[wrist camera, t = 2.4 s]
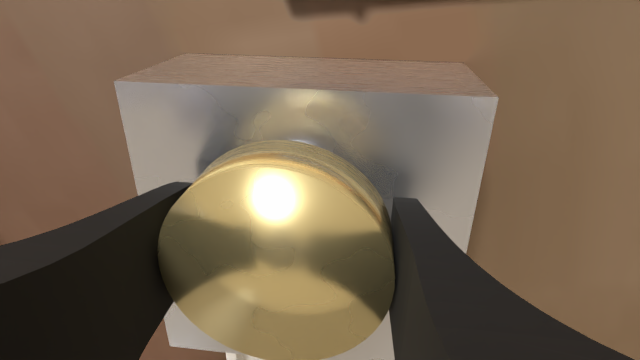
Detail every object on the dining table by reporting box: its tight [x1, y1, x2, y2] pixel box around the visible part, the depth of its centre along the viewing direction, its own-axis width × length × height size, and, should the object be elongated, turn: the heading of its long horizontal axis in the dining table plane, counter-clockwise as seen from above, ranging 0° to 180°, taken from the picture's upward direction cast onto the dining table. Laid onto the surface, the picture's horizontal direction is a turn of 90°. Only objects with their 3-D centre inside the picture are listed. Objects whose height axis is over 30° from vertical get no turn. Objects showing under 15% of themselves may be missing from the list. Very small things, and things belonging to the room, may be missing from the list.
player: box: [114, 53, 499, 360], centre depth 14 cm, size 10×10×6 cm
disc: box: [158, 140, 395, 360], centre depth 10 cm, size 5×5×2 cm
